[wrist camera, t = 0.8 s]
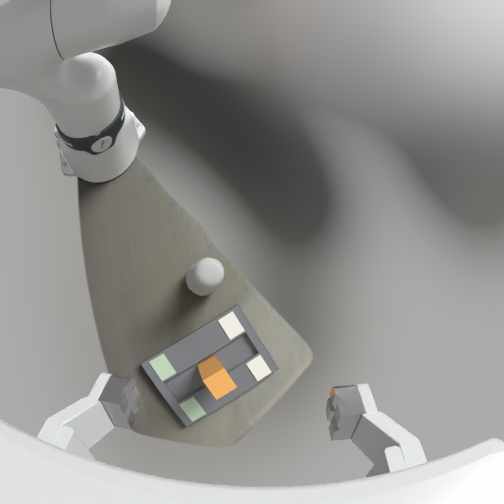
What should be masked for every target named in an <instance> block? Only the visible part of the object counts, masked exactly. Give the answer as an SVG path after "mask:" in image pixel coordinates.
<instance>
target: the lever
mask: <svg viewBox="0 0 504 504" xmlns="http://www.w3.org/2000/svg"><path fill="white" fill-rule="evenodd" d="M197 366H198V369H199V372H200V374H201V377H202V380H203V382H204V383H205V385H206V386H207V387H208V389H209V390H210V392H211V393H212V394H213V396H214V397H215V398H216V400H217V399H219V398H221V397H222V396H224V395H225V394H227V393H229V392H230V391H232V390H233V389H235V388H237V386H236V385H235V383H234V382H233V380H232V379H231V377H230V376H229V375H228V373H227V372H226V370H225V369H224V367H223V366H222V365H221V363H220V362H219V361H218V359H217V358H216V357H215V355H212V356H211V357H209V358H207V359H206V360H204V361H202V362H201V363H199V364H198V365H197Z"/></svg>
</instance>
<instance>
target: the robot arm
mask: <svg viewBox="0 0 504 504" xmlns="http://www.w3.org/2000/svg"><path fill="white" fill-rule="evenodd" d="M170 2H171V0H10V1H8V2H6V3H5V4H3V5H2V6H0V88H6V89H11V90H15V91H19V92H22V93H24V94H27V95H29V96H31V97H33V98H35V99H37V100H38V101H40V102H41V103H42V104H43V105H44V106H45V107H46V108H47V110H48V111H49V112H50V114H51V115H52V117H53V118H54V120H55V122H56V127H55V128H54V133H55V136H56V137H59V140H57V145H58V147H59V148H60V158H61V167H62V172H63V174H64V175H66V176H77V177H80V178H81V179H83V180H86V181H89V182H105V181H109V180H111V179H114V178H116V177H117V176H119V175H120V174H122V173H123V172H124V171H125V170H126V169H127V168H128V167H129V166H130V165H131V163H132V162H133V160H134V158H135V156H136V152H137V148H138V144H139V142H140V140H141V139H142V137H143V136H144V135H145V128H144V126H143V125H142V124H141V123H140V122H139V121H138V119H136V117H135V116H134V114H133V112H130V111H129V110H128V108H127V107H126V106H125V105H124V101H123V100H122V96H121V94H120V93H119V91H118V86H117V80H116V74H115V70H114V68H113V67H112V65H111V64H110V62H108V61H107V60H106V59H105V58H104V57H102V56H101V55H98V54H95V53H92V52H91V51H95V50H98V49H102V48H106V47H109V46H113V45H117V44H120V43H122V42H125V41H127V40H130V39H133V38H135V37H138V36H141V35H143V34H145V33H148V32H151V31H154V30H155V29H156V28H157V26H158V25H159V24H160V23H161V22H162V20H163V19H164V17H165V15H166V14H167V12H168V9H169V6H170ZM137 127H138V128H137ZM66 164H67V165H66ZM135 387H136V381H135V379H133V378H128V377H123V376H118V375H113V374H108V373H102V374H100V376H99V378H98V379H97V381H96V383H95V385H94V387H93V388H92V390H91V392H90V394H89V396H88V397H84V398H82V399H81V400H79V401H77V402H75V403H74V404H72V405H70V406H69V407H67V408H65V409H63V410H62V411H60V412H58V413H57V414H55V415H53V416H51V417H50V418H48V419H47V421H46V423H45V424H44V426H43V428H42V429H41V431H40V433H39V435H38V437H34V436H32V435H30V434H28V433H26V432H24V431H22V430H20V429H18V428H16V427H14V426H12V425H10V424H8V423H7V422H5V421H3V420H1V419H0V504H504V442H503V441H501V440H499V439H496V438H490V439H487V440H485V441H482V442H480V443H478V444H476V445H473V446H471V447H468V448H466V449H464V450H461V451H458V452H456V453H453V454H450V455H448V456H445V457H442V458H439V459H436V460H433V461H430V462H427V460H426V457H425V455H424V452H423V449H422V447H421V444H420V441H419V439H417V438H416V437H415V436H413V435H412V434H410V433H409V432H408V431H406V430H405V429H404V428H402V427H401V426H400V425H398V424H397V423H396V422H394V421H393V420H392V419H390V418H389V417H388V416H386V415H385V414H384V413H382V412H378V410H377V408H376V405H375V402H374V399H373V396H372V393H371V390H370V388H369V385H368V384H356V385H345V386H333V387H332V388H331V390H330V396H331V397H330V398H329V399H328V401H327V408H326V412H327V420H328V421H330V422H331V424H330V427H329V431H330V436H331V440H343V439H351V440H352V441H353V443H354V444H355V445H356V446H357V447H358V448H359V449H360V450H361V451H362V452H363V453H364V454H365V455H366V456H367V457H368V458H369V459H370V460H371V461H372V462H373V463H374V464H375V465H374V466H373V468H372V469H371V470H370V472H369V473H368V474H367V476H366V477H365V478H360V479H354V480H348V481H340V482H333V483H323V484H313V485H300V486H270V487H269V486H265V487H264V486H261V487H260V486H257V487H256V486H255V487H254V486H231V485H218V484H207V483H198V482H190V481H183V480H176V479H170V478H165V477H159V476H154V475H149V474H145V473H140V472H136V471H132V470H127V469H124V468H119V467H116V466H112V465H109V464H105V463H102V462H99V461H96V460H95V457H94V456H93V455H92V453H91V452H90V451H89V448H90V447H91V446H92V445H94V444H95V443H96V442H97V441H99V440H100V439H101V438H102V437H103V436H105V435H106V434H107V433H108V432H109V431H111V430H112V429H113V428H114V426H116V427H121V428H126V429H131V430H132V427H133V425H134V422H135V419H136V417H135V415H134V413H136V412H137V411H139V408H140V406H141V394H140V392H139V390H138V389H136V388H135Z"/></svg>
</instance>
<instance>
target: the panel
mask: <svg viewBox="0 0 504 504" xmlns="http://www.w3.org/2000/svg"><path fill="white" fill-rule="evenodd" d="M212 355H215V357H216V358H217V359H218V361H219V362H220V363H221V365H222V366H223V367H224V369H225V370H226V372H227V373H228V375H229V376H230V377H231V379H232V380H233V382H234V383H235V385H236V386H237V388H235V389H233V390H232V391H230V392H229V393H227V394H225V395H224V396H222V397H221V398H219V399H217V400H216V398H215V397H214V396H213V394H212V393H211V392H210V390H209V389H208V387H207V386H206V385H205V383H204V382H203V380H202V377H201V374H200V372H199V369H198V366H197V365H198V364H199V363H201V362H202V361H204V360H206V359H207V358H209V357H211V356H212ZM141 365H142V367H143V368H144V370H145V371H146V373H147V374H148V376H149V377H150V379H151V380H152V381H153V383H154V384H155V386H156V387H157V389H158V390H159V391H160V393H161V394H162V395H163V397H164V398H165V400H166V401H167V402H168V404H169V405H170V406H171V408H172V409H173V410H174V411H175V413H176V414H177V415H178V417H179V418H180V419H181V420H182V422H183V423H184V424H185V425H186V427H187V426H189V425H191V424H193V423H194V422H196V421H198V420H200V419H201V418H203V417H205V416H207V415H208V414H210V413H212V412H213V411H215V410H217V409H218V408H220V407H222V406H223V405H225V404H227V403H228V402H230V401H231V400H233V399H235V398H236V397H238V396H239V395H241V394H242V393H244V392H246V391H247V390H249V389H250V388H252V387H253V386H255V385H256V384H258V383H259V382H261V381H262V380H264V379H265V378H267V377H268V376H270V375H271V374H272V373H274V372H275V371H277V370H278V369H279V368H278V366H277V365H276V363H275V362H274V360H273V359H272V357H271V356H270V354H269V352H268V351H267V349H266V348H265V346H264V345H263V343H262V341H261V340H260V338H259V337H258V335H257V333H256V332H255V330H254V329H253V327H252V326H251V324H250V322H249V321H248V319H247V318H246V316H245V314H244V313H243V311H242V309H241V308H240V306H239V305H235V306H233V307H232V308H230V309H229V310H227V311H225V312H224V313H222V314H221V315H219V316H217V317H216V318H214V319H212V320H211V321H209V322H208V323H206V324H204V325H203V326H201V327H199V328H198V329H196V330H194V331H193V332H191V333H190V334H188V335H186V336H185V337H183V338H181V339H180V340H178V341H176V342H175V343H173V344H171V345H169V346H168V347H166V348H164V349H163V350H161V351H159V352H158V353H156V354H154V355H153V356H151V357H149V358H147V359H146V360H144V361H142V362H141Z"/></svg>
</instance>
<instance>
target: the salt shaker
mask: <svg viewBox="0 0 504 504" xmlns="http://www.w3.org/2000/svg"><path fill="white" fill-rule="evenodd" d="M223 279H224V269H223V266H222V264H221V263H220V262H219V261H218V260H216V259H213V258H203V259H202V260H200V261H198V262H197V263H195V264H193V265H192V266H190V268H189V269H188V271H187V273H186V283H187V286H188V288H189V289H190V290H191V291H192V292H193V293H195V294H197V295H200V296H204V295H209V294H211V293H213V292H214V291H215V290H216V289H217V287H218V285H220V284H221V282H222V280H223Z"/></svg>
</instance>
